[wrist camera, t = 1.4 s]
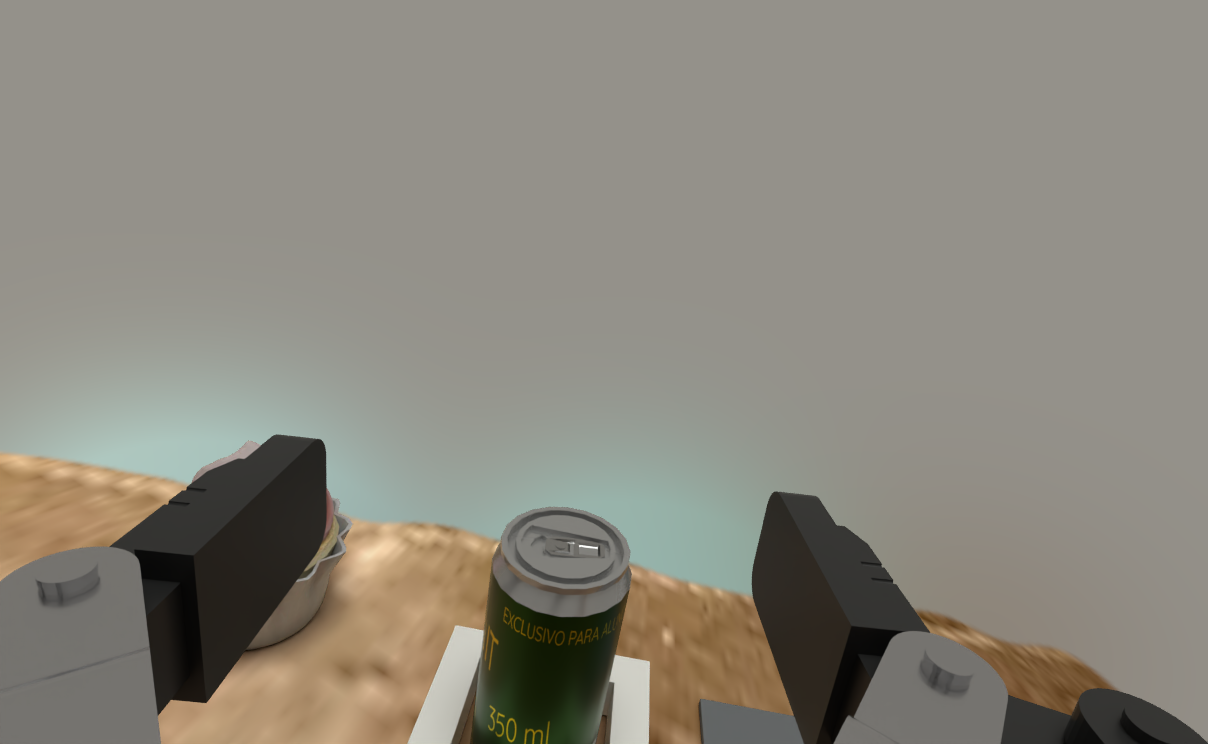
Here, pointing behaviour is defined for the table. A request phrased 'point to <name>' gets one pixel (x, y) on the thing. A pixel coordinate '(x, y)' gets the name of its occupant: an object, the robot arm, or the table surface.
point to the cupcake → (312, 581)
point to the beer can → (550, 628)
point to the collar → (458, 685)
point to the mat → (745, 725)
